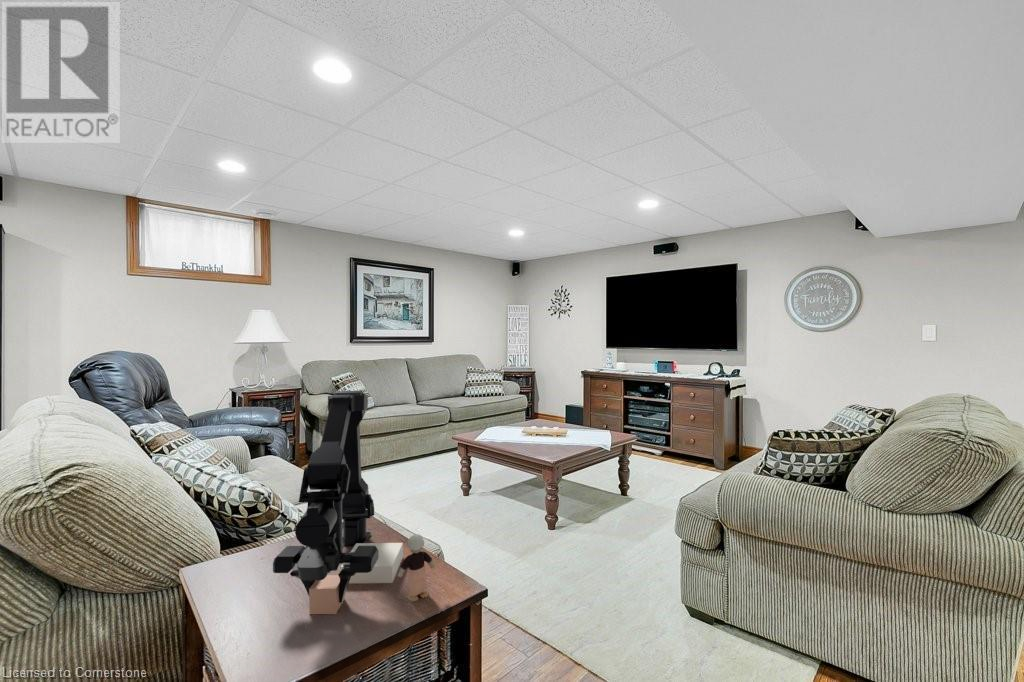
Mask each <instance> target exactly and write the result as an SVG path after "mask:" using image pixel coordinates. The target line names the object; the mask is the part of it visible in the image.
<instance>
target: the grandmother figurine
mask: <svg viewBox="0 0 1024 682" xmlns="http://www.w3.org/2000/svg"><path fill="white" fill-rule="evenodd" d="M424 546H425V540H424V538H423V536H422V535H421V534H418V533H417V534H413V535H411V536H410V537H409V539H408V541H407V548H408V549H409V550H410V552H411V554H409V555H407V556H406V557H405V558H404V559H403V561H401V564H400V566H399V569H398V571H397V577H399V578H402V577H403V576H404V572H406V570H407V569H408V574H407V575H408V594H407V595H406V596H407V597H406V599H407V600H409V601H411V602H413V603H415V602H417V601H418V600H419V597H420V598H421V597H422V599H425V598H428V597H429V590H428V581H427V579H428V578H427V571H426V565H425V562H426V563H427V564H428V565H429V568H430V569H434V568H435V566H436V565H435V564H436V563H434V560H433V558H432V557H431V556H430V555H429V553H427V552H426V551H422V549H423V547H424ZM418 595H419V596H418ZM427 596H428V597H427ZM424 597H425V598H424ZM414 601H415V602H414Z"/></svg>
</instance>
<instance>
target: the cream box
mask: <svg viewBox="0 0 1024 682" xmlns="http://www.w3.org/2000/svg"><path fill="white" fill-rule="evenodd" d="M358 546H376V547H377V549H378V560H377V562H376V564H375V565H374V567H373V569H372V571H371V572H368V573H356V574H355V575H354V576H351V579H350V581H349V584H392V583H394V581H395V578H396V576H397V574H398V572H399V569H400V566H401V564H402V562H403V561H402V560H404V559H403V558H404V542H365V543H356V544H355V545H353V547H352V549H351V550H350V552H352V551H355V550H356V549H357V547H358ZM400 563H401V564H400ZM342 569H343V564H341V566H340V571H341V570H342Z"/></svg>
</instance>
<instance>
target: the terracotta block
mask: <svg viewBox="0 0 1024 682" xmlns="http://www.w3.org/2000/svg"><path fill="white" fill-rule="evenodd" d="M339 586H340V578H339V576H338V574H327V576H326V578H324V579H323V580H318V581H317V580H316V581H315V582H314V583H313V585H312V586H311V587H310V589H309V595H308V599H309V600H308V602H309V604H308V605H309V607H308V608H309V611H308V612H309V614H336V615H337V613H338V612H339V610H340V609H341V607H340V606H342V605H343V603H344V602H343V601H345V600H346V597H345V596H344V599H343V601H342V602H341V603H339ZM341 604H342V605H341ZM338 609H339V610H338ZM337 611H338V612H337Z"/></svg>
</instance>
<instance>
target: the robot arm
mask: <svg viewBox="0 0 1024 682" xmlns="http://www.w3.org/2000/svg"><path fill="white" fill-rule="evenodd" d="M368 398H369V396H368V395H367V394H366V393H365V392H363V390H336V391H335V392H334V394H333V395H327V412H328V413H327V417H326V420H325V425H324V430H323V434H322V439H321V442H320V444H319V447H318V448H316V449H315V450H314V451H313V452H312V453H311V455H310V457H309V460H308V463H307V465H305V467H304V469H303V474H302V479H301V486H300V490H299V491H300V492H299V498H298V503H307V507H306V511H305V512H304V514H303V515H302V517H301V518H300V519H299V520H298V522H297V523H296V526H295V528H294V529H295V531H294V533H295V537H296V540H297V541H298V542H299V544H301V545H286V547H284V549H282V550H281V551H280V552H279V553H278V554H277V555H276V557H275V558H273V561H272V572H273V574H288V573H289V574H290V575H289V576H291V577H295V578H297V579H299V580H300V581H301V583H302V585H303V586H304V588H305V591H306V593H307V595H308V596H309V589H310V587H311V586H312V585H313V583H314V582H315V581H316V580H317V581H318V580H323V579H324V578H326V576H327V575H328V574H330V573H331V572H334V571H337V570H338V569H339V566H340V564H341V565H342V564H343V569H342V570H341V569H340V572H339V573H338V574H337V575H338V576H339V578H340V586H339V603H341V602H342V601H343V599H344V596H345V595H346V592H347V589H348V588H349V584H350V583H349V581H350V579H351V576H354V575H355V574H356V573H368V572H371V571H372V569H373V567H374V565H375V564H376V562H377V560H378V549H377V547H376V546H358V547H357V549H356V550H355V551H352V552H351V551H349V552H344V551H343V549H344V548H345V546H355V544H356V543H367V541H368V540H369V538H370V536H371V534H372V532H371V531H367V519H371V518H372V517H373V516H375V503H374V499H373V498H372V494H370V493H369V485H368V483H367V482H366V481H365V480H364V478H363V477H362V459H361V436H360V434H361V432H360V430H361V429H360V423H362V420H363V418H364V416H365V414H366V410H368V405H369V399H368ZM308 489H310V490H311V491H308ZM315 490H316V491H315ZM317 490H318V491H317Z"/></svg>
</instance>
